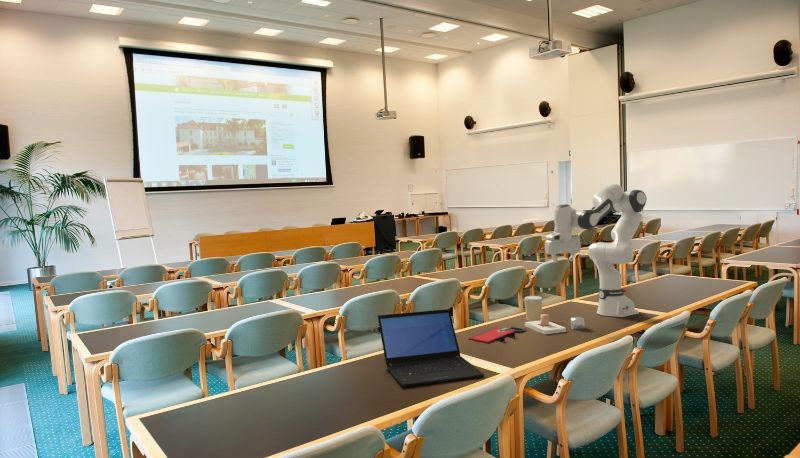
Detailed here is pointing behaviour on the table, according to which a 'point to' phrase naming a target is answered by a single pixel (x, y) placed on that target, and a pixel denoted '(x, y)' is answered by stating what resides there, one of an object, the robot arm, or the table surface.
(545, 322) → the terracotta peg
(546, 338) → the table surface
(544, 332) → the white flat block
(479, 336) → the red board with handle
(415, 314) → the laptop
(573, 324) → the clear glass block
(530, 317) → the coffee cup
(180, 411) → the table surface
